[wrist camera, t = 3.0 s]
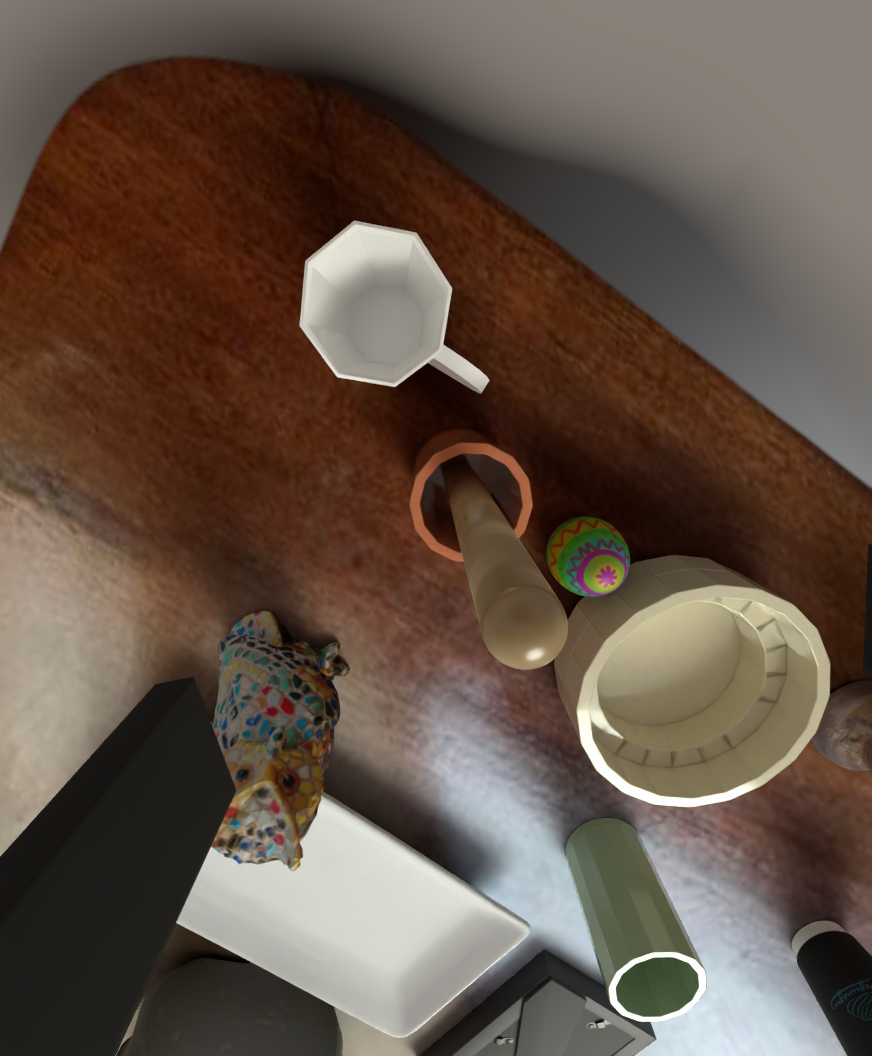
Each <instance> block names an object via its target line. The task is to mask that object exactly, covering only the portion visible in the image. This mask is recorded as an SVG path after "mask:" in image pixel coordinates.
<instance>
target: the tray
mask: <svg viewBox="0 0 872 1056" xmlns="http://www.w3.org/2000/svg"><path fill="white" fill-rule="evenodd" d="M211 724H212V727H214V723H212V722H211ZM300 844H301V847H302V850H303V858H301V859H300V866H299V868H297V869H296V870H295V871H290V870H289V868H288V866H287V865H284V864H283V863H282V862H281V860H275V861H270V862H266V863H262V864H257V865H256V864H253V863H242V864H238V862H237V861H235V860H233V859H231V858H227V857H224V854H221V853H218V851H216V850H215V849H213V848H212V847H211V848H210V850H209V852H208V854H207V857H206V859H205V861H204V863H203V865H202V867H201V870H200V872H199V874H198V876H197V878H196V881H195V883H194V885H193V887H192V889H191V891H190V894H189V896H188V898H187V900H186V902H185V905H184V907H183V909H182V911H181V913H180V915H179V918H178V920H177V922H176V923H178V924H179V925H181V926H183V927H185V928H187V929H189V930H191V931H193V932H195V933H197V934H198V935H200V936H202V937H204V938H206V939H208V940H210V941H212V942H214V943H216V944H218V945H220V946H221V947H223V948H225V949H227V950H229V951H231V952H233V953H235V954H237V955H239V956H241V957H242V958H244V959H246V960H248V961H250V962H252V963H254V964H256V965H258V966H260V967H261V968H263V969H265V970H267V971H269V972H271V973H273V974H274V975H276V976H278V977H280V978H282V979H284V980H286V981H287V982H289V983H291V984H293V985H295V986H297V987H299V988H301V989H302V990H304V991H306V992H308V993H310V994H312V995H314V996H315V997H317V998H319V999H321V1000H323V1001H325V1002H327V1003H329V1004H330V1005H332V1006H334V1007H336V1008H338V1009H340V1010H342V1011H344V1012H346V1013H348V1014H349V1015H351V1016H353V1017H355V1018H357V1019H359V1020H361V1021H362V1022H364V1023H366V1024H368V1025H370V1026H372V1027H374V1028H376V1029H378V1030H380V1031H382V1032H384V1033H386V1034H388V1035H390V1036H393V1037H396V1038H402V1037H406V1036H409V1035H410V1034H412V1033H413V1032H415V1031H416V1030H417V1029H418V1028H420V1027H421V1026H422V1025H423V1024H425V1023H426V1022H427V1021H428V1020H429V1019H430V1018H431V1017H433V1016H434V1015H435V1014H436V1013H437V1012H438V1011H440V1010H441V1009H442V1008H443V1007H444V1006H445V1005H447V1004H448V1003H449V1002H450V1001H451V1000H453V999H454V998H455V997H456V996H457V995H458V994H460V993H461V992H462V991H463V990H464V989H466V988H467V987H468V986H469V985H470V984H472V983H473V982H474V981H475V980H476V979H478V978H479V977H480V976H481V975H482V974H483V973H484V972H485V971H487V970H488V969H489V968H490V967H491V966H493V965H494V964H495V963H496V962H497V961H499V960H500V959H501V958H502V957H504V956H505V955H506V954H507V953H508V952H510V951H511V950H512V949H513V948H514V947H515V946H517V945H518V944H519V943H520V942H521V941H522V940H523V939H525V938H526V937H527V935H528V934H529V933H530V931H531V927H530V925H529V924H528V923H527V921H525V920H524V919H523V918H521V917H519V916H518V915H516V914H515V913H513V912H512V911H510V910H509V909H507V908H506V907H504V906H502V905H501V904H499V903H498V902H496V901H494V900H493V899H491V898H490V897H488V896H487V895H485V894H484V893H482V892H481V891H479V890H478V889H476V888H474V887H473V886H471V885H470V884H468V883H466V882H465V881H463V880H462V879H460V878H459V877H457V876H455V875H454V874H452V873H451V872H449V871H447V870H446V869H444V868H443V867H441V866H440V865H438V864H437V863H435V862H434V861H432V860H430V859H429V858H427V857H426V856H424V855H423V854H421V853H420V852H418V851H417V850H415V849H414V848H412V847H410V846H409V845H407V844H406V843H404V842H403V841H401V840H400V839H398V838H396V837H395V836H393V835H392V834H390V833H389V832H387V831H385V830H384V829H382V828H381V827H379V826H378V825H376V824H374V823H373V822H371V821H370V820H368V819H367V818H365V817H363V816H362V815H360V814H359V813H357V812H355V811H354V810H352V809H351V808H349V807H347V806H346V805H344V804H343V803H341V802H340V801H338V800H336V799H335V798H333V797H331V796H330V795H328V794H327V793H325V792H323V793H322V796H321V802H320V804H319V807H318V811H317V815H316V817H315V819H314V820H313V822H312V824H311V826H310V829H309V831H308V833H307V834H306V835H305V837H304V838H303V840H301V841H300Z"/></svg>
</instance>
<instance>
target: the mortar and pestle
mask: <svg viewBox="0 0 872 1056" xmlns="http://www.w3.org/2000/svg"><path fill="white" fill-rule="evenodd" d="M811 741H812V744H813V746H814V747H815V748H816V749H817V750H818V752H820V753H821V754H822V755H823V756H824V757H825V758H827V759H828V760H830V761H832V762H834V763H835V764H837V765H838V766H841V767H843V768H846V769H850V770H857V771H871V772H872V680H868V681H857V682H853V683H850V684H848V685H845V686H843V687H841V688H839V689H838V690H836V691H834V692H833V693H832V694H830V697H829V700H828V702H827V705H826V708H825V710H824V713H823V716H822V718H821V721H820V724H819V726H818V729H817V730H816V733H815V734H814V736H813V737H812V738H811Z"/></svg>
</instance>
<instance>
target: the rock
mask: <svg viewBox="0 0 872 1056" xmlns="http://www.w3.org/2000/svg"><path fill="white" fill-rule="evenodd" d="M342 1047H343V1040H342V1033H341V1030H340V1027H339V1023H338V1019H337V1016H336V1013H335V1010H334V1006H332V1005H330V1004H329V1003H327V1002H325V1001H323V1000H321V999H319V998H317V997H315V996H314V995H312V994H310V993H308V992H306V991H304V990H302V989H301V988H299V987H297V986H295V985H293V984H291V983H289V982H287V981H286V980H284V979H282V978H280V977H278V976H276V975H274V974H273V973H271V972H269V971H267V970H265V969H263V968H261V967H260V966H258V965H256V964H250V963H238V962H231V961H224V960H216V959H212V958H199V959H196V960H193V961H191V962H189V963H187V964H185V965H184V966H182V967H180V968H178V969H176V970H174V971H172V972H170V973H168V974H167V975H166V976H165V977H164V978H162V979H161V980H160V981H159V982H158V983H157V984H156V985H155V986H154V987H153V989H152V990H151V991H150V992H149V994H148V995H147V997H146V999H145V1000H144V1002H143V1004H142V1007H141V1009H140V1012H139V1015H138V1018H137V1022H136V1025H135V1028H134V1031H133V1035H132V1036H131V1037H130V1038H128V1039H127V1040H126V1041H125V1042H124V1043H123V1044H122V1046H121V1047H120V1049H119V1051H118V1053H117V1055H116V1056H342Z"/></svg>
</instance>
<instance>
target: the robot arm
mask: <svg viewBox="0 0 872 1056" xmlns="http://www.w3.org/2000/svg"><path fill="white" fill-rule="evenodd" d="M863 671H864V672H865V673H867V674H868V675H870V676H872V544H869V545H868V564H867V589H866V613H865V638H864V663H863ZM236 791H237V790H236V788H235V785H234V782H233V780H232V777H231V774H230V772H229V769H228V766H227V764H226V761H225V758H224V756H223V753H222V750H221V748H220V745H219V742H218V740H217V737H216V734H215V732H214V729H213V727H212V724H211V721H210V719H209V716H208V713H207V711H206V708H205V705H204V703H203V700H202V697H201V695H200V692H199V689H198V687H197V684H196V681H195V679H194V677H190V678H185V679H180V680H175V681H170V682H165V683H160V684H155V686H154V687H153V688H152V689H151V690H150V691H149V692H148V693H147V694H146V696H145V697H144V698H143V699H142V700H141V701H140V702H139V703H138V704H137V706H136V707H135V708H134V709H133V710H132V711H131V712H130V713H129V714H128V716H127V717H126V718H125V719H124V720H123V721H122V722H121V723H120V724H119V726H118V727H117V728H116V729H115V730H114V731H113V732H112V733H111V734H110V735H109V737H108V738H107V739H106V740H105V741H104V742H103V743H102V744H101V745H100V747H99V748H98V749H97V750H96V751H95V752H94V753H93V754H92V755H91V757H90V758H89V759H88V760H87V761H86V762H85V763H84V764H83V765H82V767H81V768H80V769H79V770H78V771H77V772H76V773H75V774H74V775H73V777H72V778H71V779H70V780H69V781H68V782H67V783H66V784H65V785H64V787H63V788H62V789H61V790H60V791H59V792H58V793H57V794H56V795H55V797H54V798H53V799H52V800H51V801H50V802H49V803H48V804H47V805H46V807H45V808H44V809H43V810H42V811H41V812H40V813H39V814H38V815H37V817H36V818H35V819H34V820H33V821H32V822H31V823H30V824H29V825H28V827H27V828H26V829H25V830H24V831H23V832H22V833H21V834H20V835H19V837H18V838H17V839H16V840H15V841H14V842H13V843H12V844H11V845H10V847H9V848H8V849H7V850H6V851H5V852H4V853H3V854H2V855H1V857H0V1056H115V1055H116V1053H117V1051H118V1049H119V1047H120V1044H121V1042H122V1040H123V1038H124V1036H125V1033H126V1031H127V1029H128V1027H129V1025H130V1023H131V1020H132V1018H133V1016H134V1014H135V1012H136V1009H137V1007H138V1005H139V1003H140V1001H141V999H142V996H143V994H144V992H145V990H146V988H147V985H148V983H149V981H150V979H151V977H152V974H153V972H154V970H155V968H156V966H157V964H158V961H159V959H160V957H161V955H162V953H163V950H164V948H165V946H166V944H167V942H168V940H169V937H170V935H171V933H172V931H173V929H174V926H175V924H176V922H177V920H178V918H179V915H180V913H181V911H182V909H183V907H184V905H185V902H186V900H187V898H188V896H189V894H190V891H191V889H192V887H193V885H194V883H195V881H196V878H197V876H198V874H199V872H200V870H201V867H202V865H203V863H204V861H205V859H206V857H207V854H208V852H209V850H210V848H211V846H212V843H213V841H214V839H215V837H216V835H217V832H218V830H219V828H220V826H221V824H222V822H223V819H224V817H225V815H226V813H227V811H228V808H229V806H230V804H231V802H232V800H233V798H234V795H235V793H236Z"/></svg>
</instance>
